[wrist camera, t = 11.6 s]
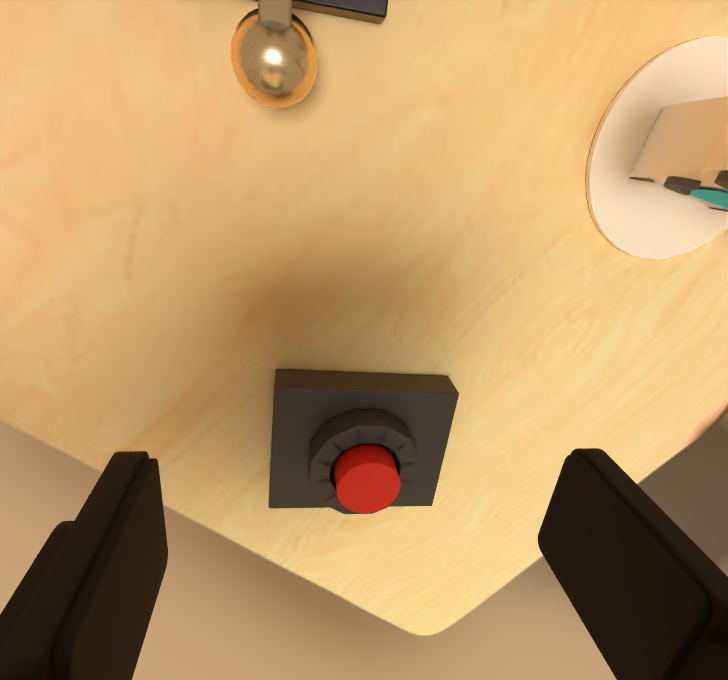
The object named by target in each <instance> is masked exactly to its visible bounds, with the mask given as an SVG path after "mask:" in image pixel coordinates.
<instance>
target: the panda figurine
mask: <svg viewBox="0 0 728 680" xmlns="http://www.w3.org/2000/svg"><path fill="white" fill-rule="evenodd" d="M586 194H587V201H588V206H589V210H590V213H591V216H592V219H593V221H594V223H595V225H596V227H597V228H598V230H599V231H600V233H601V234H602V235H603V237H604V238H605V239H606V240H607V241H608V242H609V243H610V244H612V245H613V246H614V247H616V248H617V249H619V250H621V251H623V252H625V253H628V254H631V255H633V256H637V257H641V258H648V259H662V258H669V257H675V256H678V255H682V254H684V253H687V252H690V251H692V250H694V249H696V248H698V247H700V246H702V245H704V244H706V243H707V242H709V241H710V240H712V239H713V238H715V237H716V236H718V235H719V234H720V233H721V232H723V231H724V230H725V229H726V228H727V227H728V37H725V36H710V37H704V38H699V39H695V40H691V41H687V42H684V43H681V44H679V45H676V46H674V47H672V48H670V49H668V50H666V51H664V52H663V53H661V54H659V55H658V56H656V57H655V58H653V59H652V60H651V61H649V62H648V63H647V64H645V65H644V66H643V67H642V68H641V69H640V70H639V71H637V72H636V73H635V74H634V75H633V76H632V77H631V78H630V79H629V81H628V82H627V83H626V84H625V85H624V86H623V87H622V89H621V90H620V91H619V93H618V94H617V95H616V97H615V98H614V100H613V101H612V103H611V104H610V106H609V107H608V109H607V111H606V113H605V114H604V116H603V118H602V120H601V122H600V124H599V126H598V129H597V131H596V134H595V136H594V139H593V142H592V146H591V149H590V153H589V158H588V163H587V171H586Z"/></svg>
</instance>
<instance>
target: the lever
mask: <svg viewBox="0 0 728 680" xmlns="http://www.w3.org/2000/svg"><path fill="white" fill-rule="evenodd" d="M292 1H293V0H258V9H255V10H253V11H251V12H250V13H248V14H247V15H246V16H245V17H244V18H243V19H242V20H241V21H240V23H239V24H238V26H237V27H236V30H235V32H234V35H233V38H232V44H231V59H232V65H233V69H234V72H235V75H236V77H237V79H238V81H239V83H240V84H241V86H242V87H243V89H244V90H245V91H246V92H247V93H248V94H249V95H250V96H251V97H252V98H253V99H255V100H256V101H258V102H260V103H262V104H264V105H267V106H270V107H276V108H283V107H288V106H291V105H294V104H296V103H297V102H299V101H301V100H302V99H303V98H304V97H305V96H306V95H307V94H308V92H309V91H310V89H311V88H312V86H313V84H314V81H315V78H316V75H317V68H318V58H317V50H316V46H315V43H314V40H313V38H312V36H311V34H310V32H309V30H308V29H307V27H306V26H305V25H304V23H303V22H302V21H301V20H300V19H299V18H298V17H297V16H295V15H294V14H293V13H292Z"/></svg>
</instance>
